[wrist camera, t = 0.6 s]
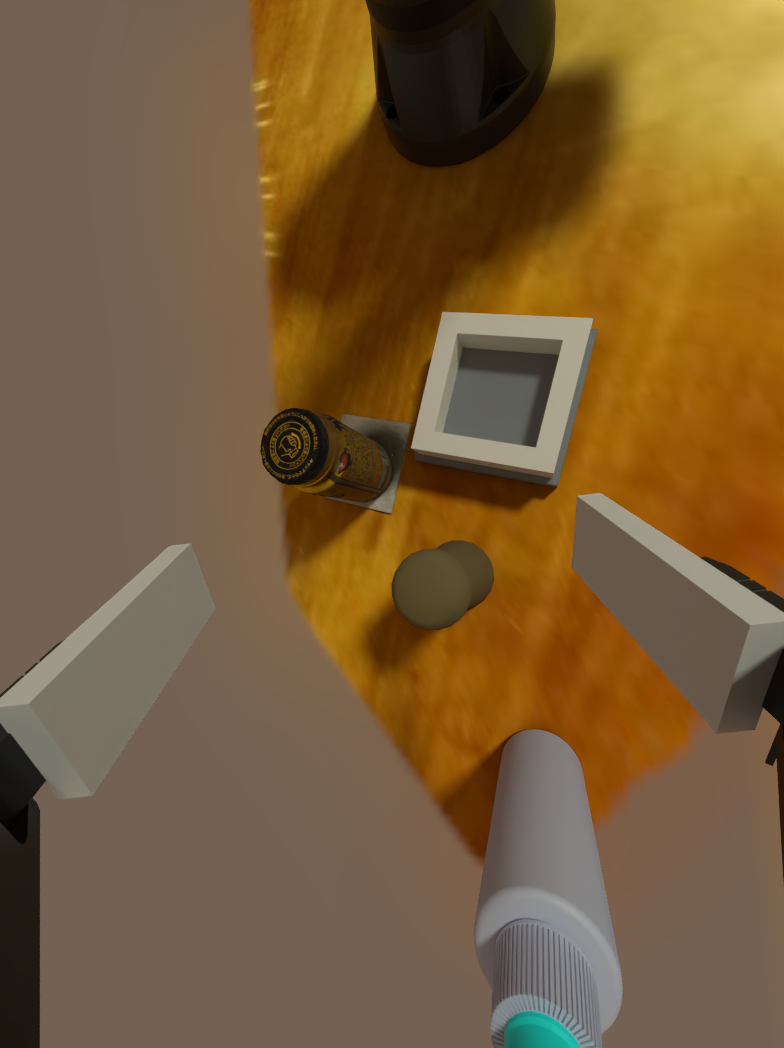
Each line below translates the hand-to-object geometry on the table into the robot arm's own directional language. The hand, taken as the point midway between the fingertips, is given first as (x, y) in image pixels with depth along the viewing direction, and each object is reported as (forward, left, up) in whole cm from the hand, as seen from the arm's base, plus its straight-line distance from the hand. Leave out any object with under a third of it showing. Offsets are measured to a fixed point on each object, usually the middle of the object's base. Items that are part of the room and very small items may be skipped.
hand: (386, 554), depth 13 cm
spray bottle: (+16, +9, -22) cm, 28 cm away
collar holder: (-12, -1, -21) cm, 24 cm away
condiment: (-5, -12, -22) cm, 25 cm away
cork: (+3, -1, -22) cm, 22 cm away
